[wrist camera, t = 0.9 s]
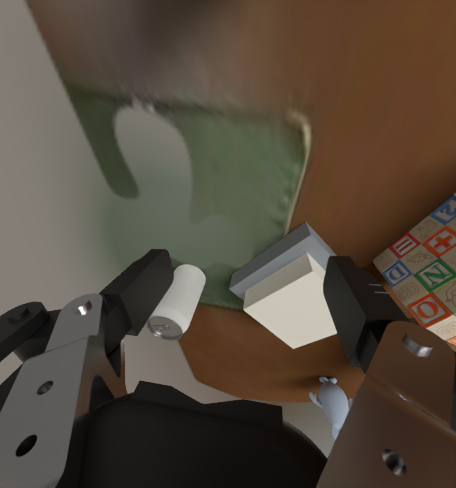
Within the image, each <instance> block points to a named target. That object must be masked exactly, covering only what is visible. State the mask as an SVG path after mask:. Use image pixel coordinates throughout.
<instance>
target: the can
mask: <svg viewBox="0 0 456 488" xmlns="http://www.w3.org/2000/svg"><path fill="white" fill-rule="evenodd" d="M205 281H206V277H205V275H204V273H203V272H202V271H201V270H200V269H199V268H198V267H196V266H194V265H190V264H184V265H180V266H178V267H177V268H176V270H175V271H174V279H173V283H172V285H171V287H170V288H169V289H168V291H167V292H166V294H165V295H164V297H163V298H162V300H161V301H160V303H159V304H158V306H157V307H156V309H155V310H154V312H153V313H152V315H151V316H150V318H149V319H148V321H147V328H148V329H149V331H150V332H151V333H152V334H154V335H155V336H157V337H159V338H161V339H164V340H169V341H174V340H178V339H180V338H181V337H182V335H183V333H184V332H185V331H186V330H187V329H188V327H189V324H190V322H191V319H192V317H193V314H194V311H195V309H196V306H197V304H198V301H199V298H200V296H201V293H202V290H203V288H204V285H205Z"/></svg>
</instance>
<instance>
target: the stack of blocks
mask: <svg viewBox="0 0 456 488" xmlns="http://www.w3.org/2000/svg"><path fill="white" fill-rule="evenodd" d="M372 262H373V263H374V265H375V266H376V267H377V269H378V270H379V271H380V273H381V274H382V275H383V276H384V278H385V279H386V281H387V282H388V283H389V285H390V286H391V288H392V290H393V291H394V292H395V294H396V295H397V297H398V298H399V299H400V301H401V302H402V303H403V305H404V306H405V307H406V308H408V309H409V311H410V312H411V314H412V315H413V316H414V318H415V319H416V320H417V322H418V323H419V324H420V326H422V327H424V328H426V329H428V330H430V331H432V332H433V333H435V334H436V335H438V336H439V337H440V338H442V339H443V340H446V341H448V342H449V343H452V344H454V345H456V193H454V195H453V196H452V197H450V198H449V199H448V200H447V201H445V202H444V203H443V204H442V205H440V206H439V207H438V208H437V209H436V210H434V211H433V212H432V213H431V214H430V215H429V216H427V217H426V218H425V219H424V220H422V221H421V222H420V223H419V224H417V225H416V226H415V227H414V228H413V229H411V230H410V231H409V232H407V233H406V234H405V235H403V236H402V237H401V238H400V239H398V240H397V241H396V242H395V243H394V244H392V245H391V246H390V247H389V248H387V249H386V250H385V251H384V252H382V253H381V254H380V255H379V256H377V257H376V258H375V259H374V260H373V261H372Z"/></svg>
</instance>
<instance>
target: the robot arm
mask: <svg viewBox="0 0 456 488" xmlns="http://www.w3.org/2000/svg"><path fill="white" fill-rule="evenodd" d="M173 279H174V273H173V269H172V264H171V260H170V256H169V253H168V251H167V250H166V249H151V250H150V251H149V252H148V253H147V254H146V255H145V256H143V257H142V258H141V259H139V260H137V261H135V262H133V263H132V264H131V265H130V266H129V267H128V268H127V269H126V270H125V271H123V272H122V273H121V275H119V276H118V277H117V278H115V279H114V280H113V281H112V282H111V283H110V284H109V285H108V286H106V287H105V288H104V289H103V290H102V291H101V292H100V293H99V294H95V293H93V294H87V295H83V296H81V297H78V298H76V299H74V300H72V301H71V302H69V303H68V304H67V305H66V306H65V307H64V308H62V309H60V310H54V311H47V310H46V309H45V307H44V305H43V304H42V303H41V302H30V303H26V304H23V305H20V306H18V307H15V308H13V309H11V310H10V311H8V312H6V313H5V314H3V315H1V316H0V362H1V361H2V360H3V359H4V358H5V357H7V356H8V355H9V354H10V353H11V352H12V351H13V352H14V353H15V354H16V355H17V356H18V357H19V359H20V360H21V361H22V362H23V364H22V365H21V366H20V367H19V368H18V369H17V370H16V371H14V372H13V373H12V374H11V375H10V376H9V377H8V378H7V379H6V380H5V381H4V382H3V383H2V384H1V385H0V488H456V352H455V351H453V350H452V349H451V347H450V346H449V345H448V344H447V343H446V342H445V341H444V340H443V339H442V338H440V337H439V336H438V335H436V334H435V333H433V332H432V331H430V330H428V329H426V328H424V327H422V326H419V325H417V324H414V323H411V322H410V321H409V320H408V318H407V317H406V316H405V314H404V313H403V312H402V311H401V309H400V308H399V307H398V306H397V304H396V303H395V302H394V301H393V299H392V298H391V297H390V295H389V294H387V292H386V290H385V289H384V288H383V287H382V286H381V284H380V283H379V281H378V280H377V279H376V278H375V276H374V275H372V274H371V273H369V272H368V271H366V270H365V269H363V268H357V266H356V265H355V263H354V262H353V261H352V259H351V258H350V257H349V256H330V257H329V258H328V262H327V267H326V272H325V277H324V282H323V294H324V298H325V300H326V303H327V306H328V309H329V311H330V314H331V317H332V320H333V323H334V325H335V328H336V331H337V334H338V337H339V339H340V342H341V345H342V348H343V350H344V353H345V356H346V359H347V362H348V364H349V365H350V366H357V367H362V370H363V372H364V375H365V376H364V378H363V380H362V382H361V384H360V387H359V389H358V391H357V393H356V396H355V398H354V400H353V402H352V405H351V407H350V409H349V411H348V414H347V416H346V418H345V420H344V423H343V425H342V427H341V429H340V432H339V434H338V436H337V438H336V440H335V443H334V445H333V447H332V450H331V452H330V454H329V456H328V458H326V456H325V455H324V454H323V453H322V451H321V450H320V449H319V448H318V447H317V446H316V445H315V444H314V443H313V442H312V441H311V440H310V439H309V438H308V437H307V436H306V435H305V434H303V433H302V432H301V431H300V430H299V429H297V428H296V427H294V426H293V425H291V424H290V423H288V422H286V421H284V420H283V418H282V406H277V405H271V404H266V403H260V402H255V401H249V400H244V399H242V400H234V401H226V402H218V403H210V404H202V403H199V402H198V401H196V400H194V399H192V398H191V397H189V396H187V395H185V394H184V393H182V392H180V391H179V390H177V389H175V388H173V387H172V386H167V385H162V384H156V383H151V382H145V381H139V384H138V385H137V387H136V389H135V391H134V393H130V394H127V391H126V386H125V356H124V355H125V352H124V342H123V338H124V337H125V335H133V336H137V335H138V334H139V332H140V331H141V329H142V328H143V326H144V325H145V324H146V322H147V321H148V319H149V318H150V316H151V315H152V313H153V312H154V310H155V309H156V307H157V306H158V304H159V303H160V301H161V300H162V298H163V297H164V295H165V294H166V292H167V291H168V289H169V288H170V287H171V285H172V283H173Z"/></svg>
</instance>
